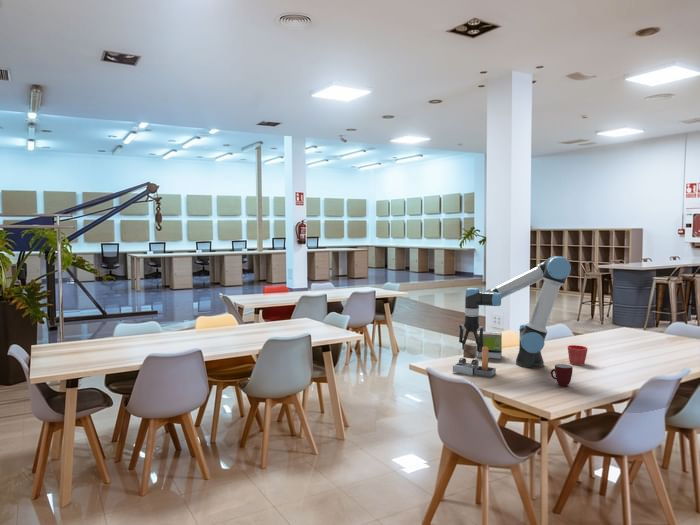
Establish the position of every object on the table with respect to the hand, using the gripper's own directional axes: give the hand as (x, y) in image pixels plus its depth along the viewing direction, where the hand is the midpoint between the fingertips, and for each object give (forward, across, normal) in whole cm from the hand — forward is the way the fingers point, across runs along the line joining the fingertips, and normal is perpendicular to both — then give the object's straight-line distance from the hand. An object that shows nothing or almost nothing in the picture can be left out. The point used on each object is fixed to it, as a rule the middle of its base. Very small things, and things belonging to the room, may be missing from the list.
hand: (470, 356), depth 293 cm
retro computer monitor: (+6, -2, -30) cm, 30 cm away
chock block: (0, 0, 0) cm, 0 cm away
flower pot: (+6, -51, -39) cm, 64 cm away
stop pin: (+5, -12, +12) cm, 18 cm away
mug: (+6, -50, +13) cm, 52 cm away
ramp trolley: (+6, -1, +11) cm, 13 cm away
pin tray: (+6, -12, +12) cm, 18 cm away
